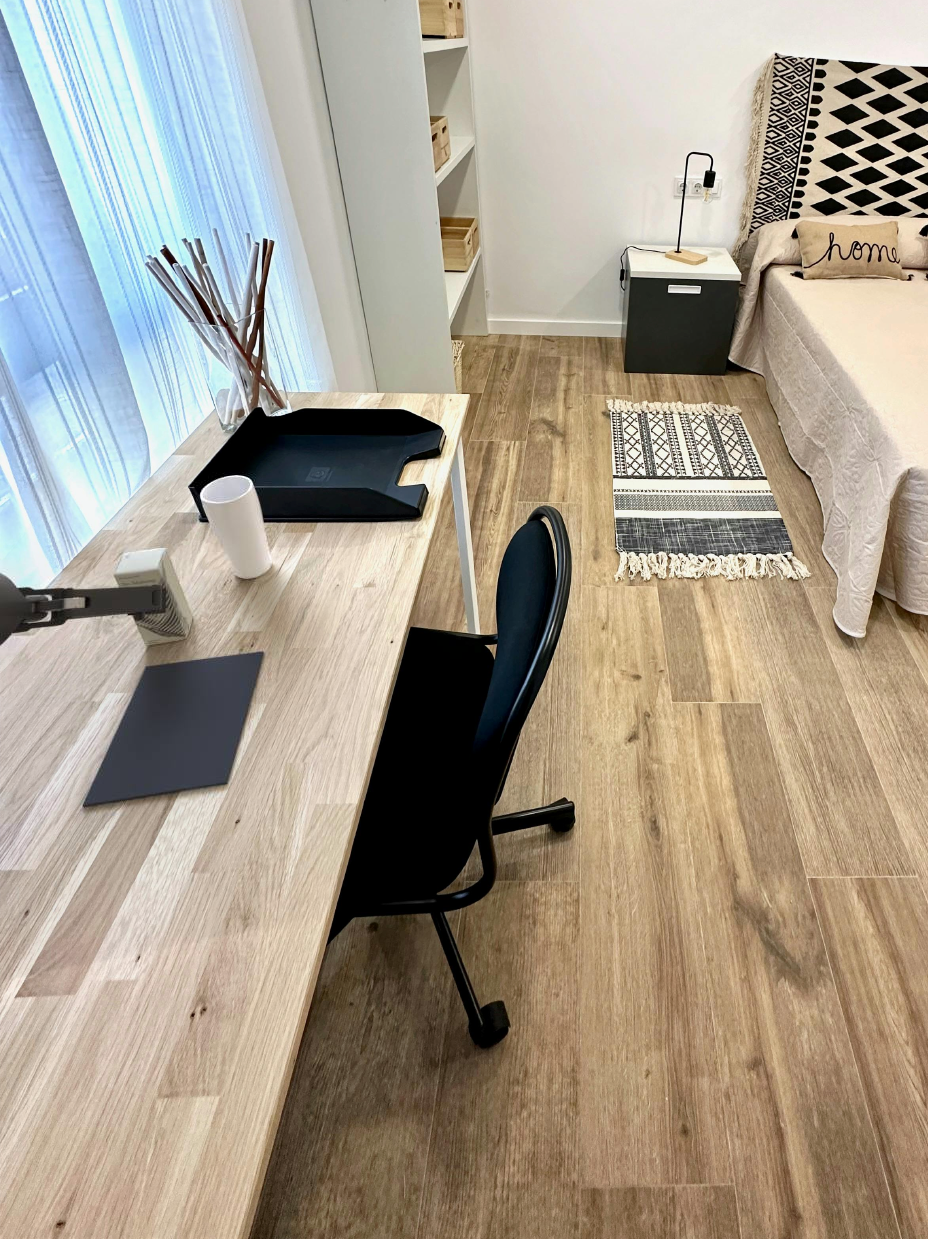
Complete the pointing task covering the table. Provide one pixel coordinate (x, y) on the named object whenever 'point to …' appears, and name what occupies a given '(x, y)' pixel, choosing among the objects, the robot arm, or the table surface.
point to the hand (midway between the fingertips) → (94, 608)
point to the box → (160, 570)
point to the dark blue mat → (178, 729)
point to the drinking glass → (238, 524)
